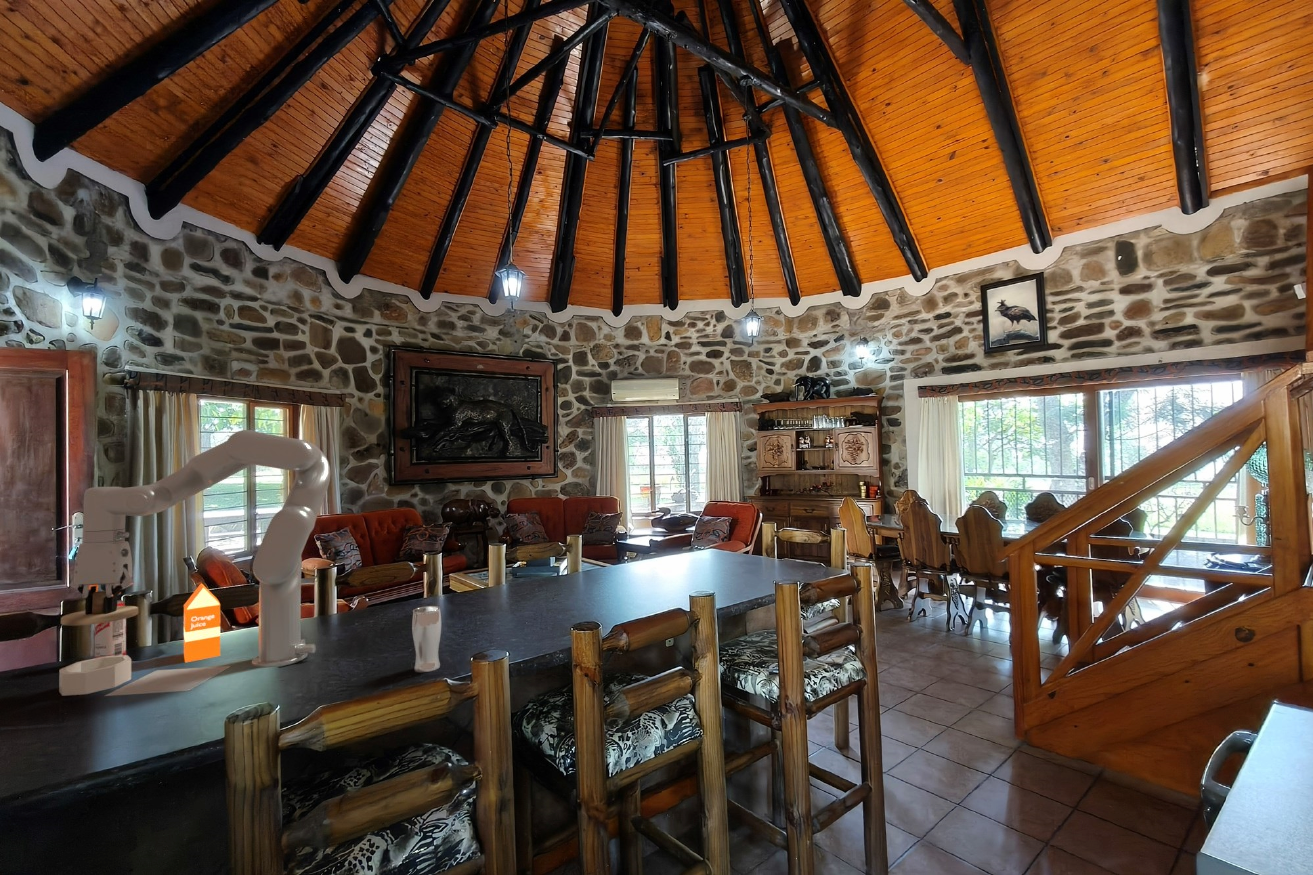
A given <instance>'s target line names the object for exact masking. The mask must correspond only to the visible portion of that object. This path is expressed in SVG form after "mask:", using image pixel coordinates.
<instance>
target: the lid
mask: <svg viewBox="0 0 1313 875" xmlns="http://www.w3.org/2000/svg"><path fill="white" fill-rule="evenodd" d="M105 597H107V596H106V590H101V591H100V590H98V591H97V592H94V593H93V599H92V614H88V615H86V614H85V609H84V610H80V611H76V612H72V613H68V614H66V615H63V616H61V617H60V624H61V625H62V626H68V627H69V626H70V627H71V626H76V627H77V626H78V627H79V626H90V625H95V624H100V623H106V622H112V621H117V620H122V619H126V620H127V619H130V618H131V617H135V616H137V615H138V614H139V607H138V606H135V605H125V606H117V610H116V611H114V612H111V613H108V614H103V601H104V598H105Z"/></svg>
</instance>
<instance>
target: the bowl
mask: <svg viewBox="0 0 1313 875" xmlns="http://www.w3.org/2000/svg"><path fill="white" fill-rule="evenodd" d="M58 673H59V676H58V677H59V678H58V679H59V680H58V682H59V684H58V685H59V686H58V687H59V688H58V692H59V693H60V695H61V696H62V697H63V696H64V697H65V696H77V695H79V696H82V695H88V694H92V693H96V692H100V691H105V690H108V689H113V688H117V687H118V686H121V685H123V684H124V683H126V682H128V681H130V680H132V658H131V657H130V656H129V655H128V654H126V655H120V656H105V657H100V658H95V657H94V658H91V659H85V660H81V661H76V662H75V663H72V664H69V665H67V666H65V667H62V668H60V669H59V672H58ZM59 693H58V694H59Z"/></svg>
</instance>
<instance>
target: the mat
mask: <svg viewBox="0 0 1313 875" xmlns="http://www.w3.org/2000/svg"><path fill="white" fill-rule="evenodd" d="M231 667H232V665H226V666H225V665H223V666H209V667H207V666H205V667H192V668H189V667H188V668H187V667H186V668H175V669H174V668H173V669H155V670H154V671H153V672H150V673H148V674H146V675H144V676H142V677H140V678H138V679H136V680H133V681H132V682H130V683H128V684H126V685H124V686H122V687H120V688H118V689H115V690H113V691H112V692H110V693H106V694H105V695H104V697H110V696H113V697H115V696H127V695H128V696H129V695H142V694H144V695H145V694H160V693H173V692H189V691H191V690H193V689H195V688H197V686H199V685H201V684H203V683H205V682H206V681H209V680H210V679H212V678H213V677H216V676H217V675H219V674H221V673H222V672H223V671H225V670H228V669H229V668H231Z"/></svg>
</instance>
